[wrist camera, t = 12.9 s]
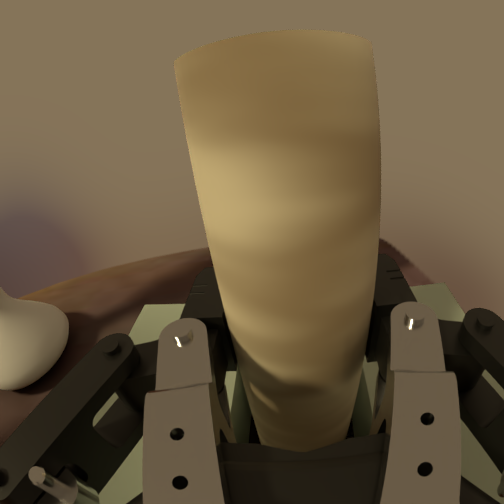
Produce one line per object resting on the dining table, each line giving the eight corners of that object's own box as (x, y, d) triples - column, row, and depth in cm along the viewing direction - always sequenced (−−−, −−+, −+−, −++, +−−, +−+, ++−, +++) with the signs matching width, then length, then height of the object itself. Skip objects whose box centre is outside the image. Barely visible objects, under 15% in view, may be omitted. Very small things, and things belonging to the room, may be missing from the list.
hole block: (105, 548, 8) (47, 529, 6) (166, 354, 22) (144, 304, 19) (488, 533, 5) (544, 508, 3) (428, 336, 19) (444, 282, 17)
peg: (261, 481, 11) (138, 59, 4) (266, 416, 15) (201, 72, 7) (344, 476, 11) (403, 32, 3) (339, 412, 14) (347, 57, 7)
